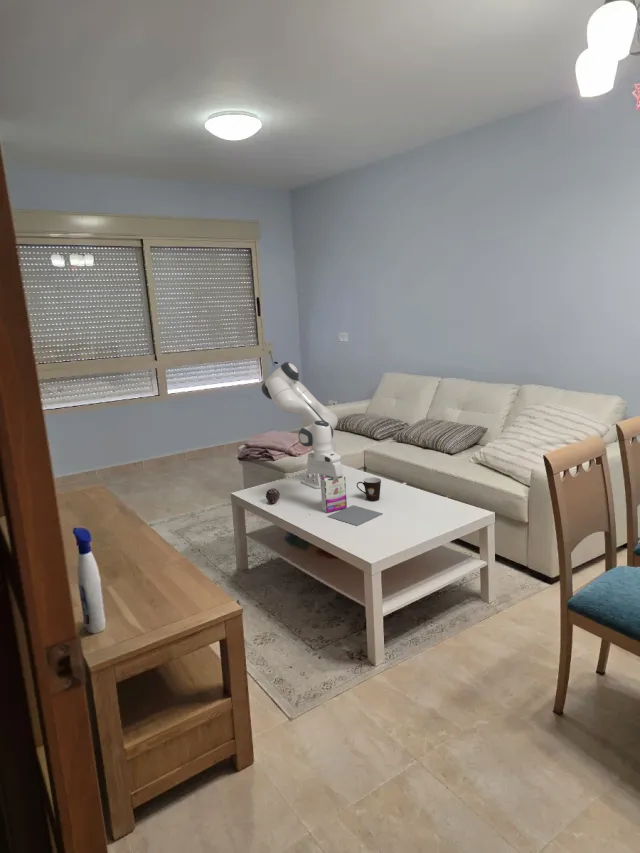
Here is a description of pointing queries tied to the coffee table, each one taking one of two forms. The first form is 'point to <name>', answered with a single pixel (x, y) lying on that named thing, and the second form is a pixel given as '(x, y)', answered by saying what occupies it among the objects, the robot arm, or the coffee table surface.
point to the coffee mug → (371, 488)
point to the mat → (355, 515)
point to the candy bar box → (333, 493)
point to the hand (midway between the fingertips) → (324, 483)
